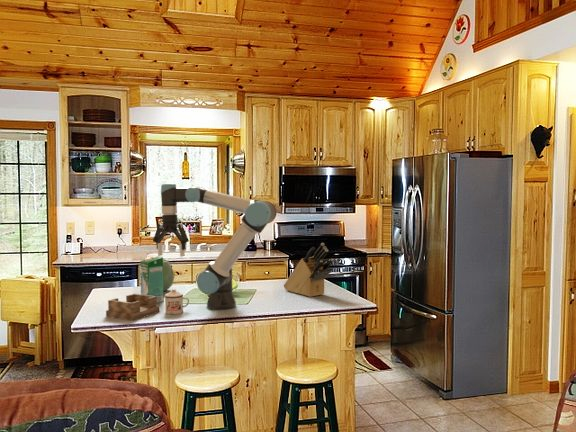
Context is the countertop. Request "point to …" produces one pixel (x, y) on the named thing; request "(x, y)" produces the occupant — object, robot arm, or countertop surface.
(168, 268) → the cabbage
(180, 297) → the teacup with lid
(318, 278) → the knife block
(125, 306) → the walnut cup stand
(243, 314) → the countertop surface
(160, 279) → the milk carton
